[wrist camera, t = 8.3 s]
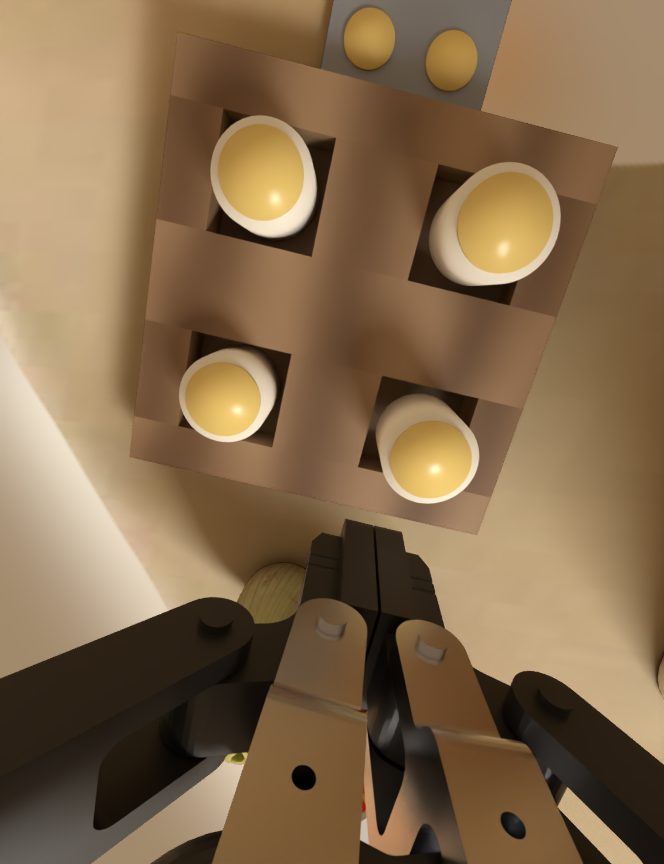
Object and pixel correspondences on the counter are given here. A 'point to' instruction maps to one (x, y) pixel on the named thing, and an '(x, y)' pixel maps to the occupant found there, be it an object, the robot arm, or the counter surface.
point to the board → (346, 280)
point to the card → (418, 45)
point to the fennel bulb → (270, 604)
